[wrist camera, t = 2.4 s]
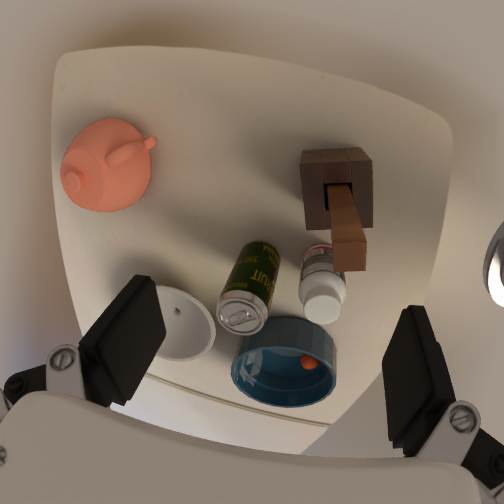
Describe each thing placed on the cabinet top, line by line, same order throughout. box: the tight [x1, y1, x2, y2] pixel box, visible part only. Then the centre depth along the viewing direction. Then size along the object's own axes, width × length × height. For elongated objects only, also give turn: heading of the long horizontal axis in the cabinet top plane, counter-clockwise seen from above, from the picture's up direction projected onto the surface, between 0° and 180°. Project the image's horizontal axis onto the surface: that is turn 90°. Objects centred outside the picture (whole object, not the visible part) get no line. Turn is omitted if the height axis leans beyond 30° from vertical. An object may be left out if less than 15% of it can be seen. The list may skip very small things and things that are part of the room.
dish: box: [156, 285, 216, 361], centre depth 45 cm, size 18×14×5 cm
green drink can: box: [216, 241, 281, 335], centre depth 34 cm, size 5×5×12 cm
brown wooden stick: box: [326, 183, 367, 272], centre depth 25 cm, size 2×2×18 cm
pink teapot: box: [60, 118, 157, 212], centre depth 32 cm, size 12×14×10 cm
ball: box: [301, 353, 319, 369], centre depth 45 cm, size 3×3×3 cm
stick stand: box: [300, 148, 373, 230], centre depth 29 cm, size 7×7×7 cm
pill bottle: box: [299, 244, 346, 324], centre depth 34 cm, size 5×5×10 cm
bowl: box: [231, 317, 336, 408], centre depth 44 cm, size 16×16×6 cm
